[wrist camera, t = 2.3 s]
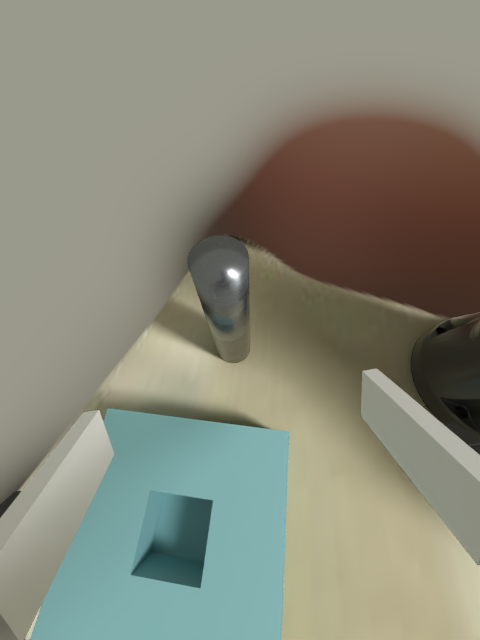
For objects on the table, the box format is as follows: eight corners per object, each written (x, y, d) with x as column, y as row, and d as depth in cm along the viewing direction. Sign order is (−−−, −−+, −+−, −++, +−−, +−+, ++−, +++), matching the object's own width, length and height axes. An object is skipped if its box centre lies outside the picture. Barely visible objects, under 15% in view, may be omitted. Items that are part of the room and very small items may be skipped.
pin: (251, 333, 36) (251, 237, 19) (248, 364, 34) (244, 286, 18) (219, 330, 36) (194, 233, 20) (214, 361, 34) (181, 280, 18)
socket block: (282, 435, 30) (289, 431, 24) (271, 667, 22) (277, 738, 16) (132, 415, 31) (107, 407, 26) (71, 624, 23) (17, 676, 18)
